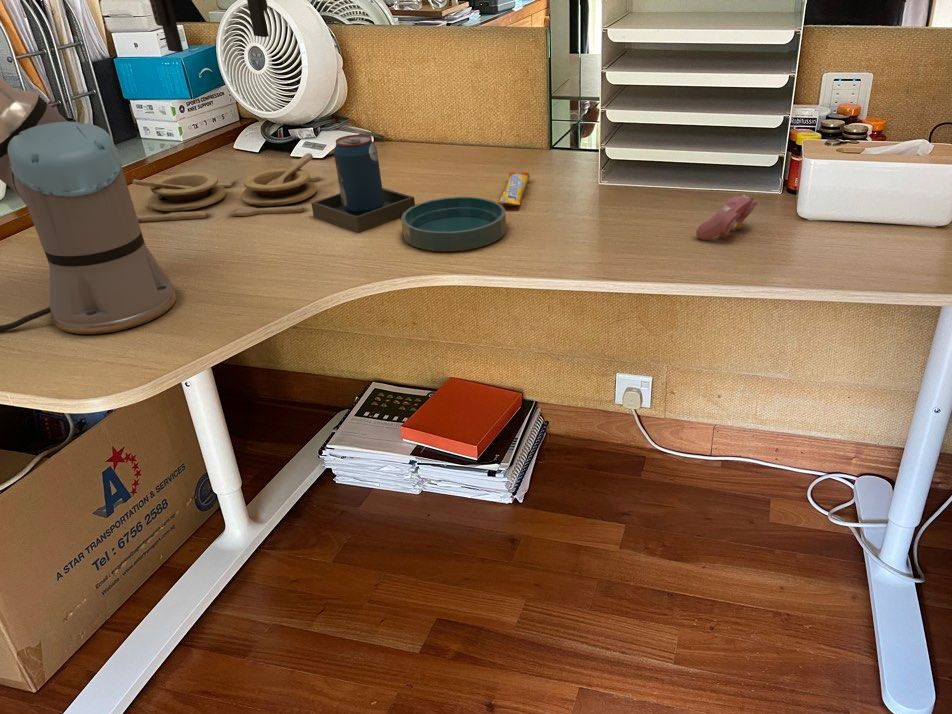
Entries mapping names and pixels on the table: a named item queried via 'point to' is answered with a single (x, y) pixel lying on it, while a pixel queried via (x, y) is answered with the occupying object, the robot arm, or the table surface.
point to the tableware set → (208, 189)
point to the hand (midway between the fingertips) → (220, 43)
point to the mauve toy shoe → (727, 218)
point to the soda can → (358, 174)
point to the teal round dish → (454, 223)
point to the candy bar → (514, 189)
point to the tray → (391, 210)
